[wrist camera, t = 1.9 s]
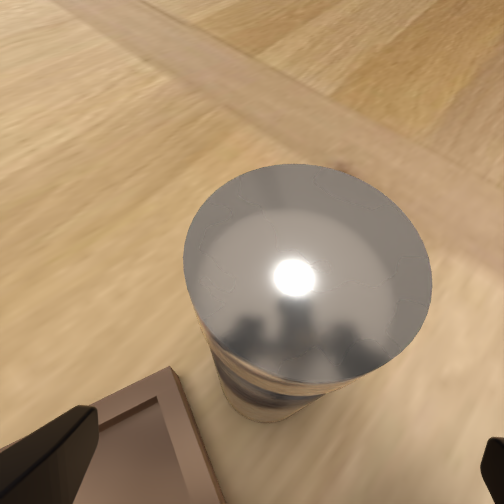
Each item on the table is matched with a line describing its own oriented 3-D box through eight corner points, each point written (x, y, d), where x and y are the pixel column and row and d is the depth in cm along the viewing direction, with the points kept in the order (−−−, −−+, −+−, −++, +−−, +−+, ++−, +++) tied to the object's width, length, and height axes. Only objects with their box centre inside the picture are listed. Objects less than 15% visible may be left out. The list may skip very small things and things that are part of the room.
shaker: (331, 393, 18) (488, 301, 7) (244, 445, 16) (255, 442, 5) (282, 310, 20) (336, 141, 9) (203, 349, 19) (149, 205, 8)
